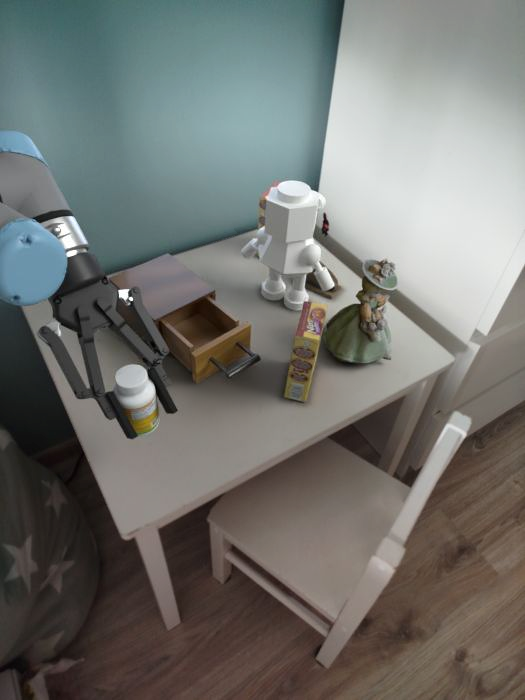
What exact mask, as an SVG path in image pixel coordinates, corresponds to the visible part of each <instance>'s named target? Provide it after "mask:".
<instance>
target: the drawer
mask: <svg viewBox="0 0 525 700" xmlns="http://www.w3.org/2000/svg"><path fill="white" fill-rule="evenodd" d="M159 328H160V334H161V336H162V338H163V339H164V341H165V343H166V345H167V346H168V348H169V353H171V354H172V355H173V356H174V358H176V359H177V360H178V361H179V362H180V363H181V364H182V365H183V366H184V367H185V368H186V369H187V370H188V371H190V372H191V373H192V379H193V381H194V382H195V383H196V384H199V383H201V382H203V381H204V380H205V379H207V378H209V377H210V376H212V375H213V374H215V373H217V372H219V371H220V372H222V373H223V374H224V377H225V379H226V380H228V381H231V380H232V379H234V378H235V377H238V376H239V375H240V374H242V373H243V372H245V371H247V370H248V369H250V368H251V367H253V366H254V365H256V364H257V363H259V362H260V361H261V360H262V358H261V355H260V354H259V353H254V352H253V351H252V350H251V337H252V324H251V323H250V322H249V321H245V322H243V323H241V324H240V319H239V318H237V317H236V316H235V315H234V314H232V313H231V311H229V310H227V309H226V308H225V307H224V306H222V305H221V304H219V303H218V302H217V300H216V301H215V300H213V299H212V298H211V297H210V296H208V297H206V298H204V299H202V300H200V301H198V302H196V303H194V304H192V305H190V306H188V307H186V308H184V309H182V310H180V311H178V312H176V313H174V314H172V315H170V316H168V317H166V318H165V319H163V320H161V321H159ZM246 354H247V355H248V356H249V358H246V359H245V360H243V361H242V362H240V363H239V364H237V365H235V366H234V367H232V368H231V369H229V370H228V369H227V368H226V366H228V365H230V364H232V363H233V362H235V361H236V360H238V359H240V358H242V357H243V356H245V355H246Z"/></svg>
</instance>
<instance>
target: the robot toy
mask: <svg viewBox="0 0 525 700" xmlns="http://www.w3.org/2000/svg"><path fill="white" fill-rule="evenodd" d="M280 182H281V181H280ZM270 187H271V186H270ZM326 205H327V200H326V197H325V196H324V195H323V194H321V192H318V191H316V190H313V189H312V188H311V187H310V185H308V184H307V183H305V182H303V181H300V180H291V179H290V180H285V181H282V182H281V183H280V184H279V185H278V187H271V189H270V192H269V194H268V197H267V199H266V214H265V226H264V227H262V228H260V229H259V231H257V233H256V238H255V237H253V238H252V239H251V240H249V242H248V243H247V244H245V246H243V247H242V249H241V255H242V256H243V257H244V258H245V259H248V260H249V259H250V260H251V258H252V257H253V256H254V255H256V254H257V252H258V251H259V256H258V257H259V258H258V259H259V262H260V263H261V264H263V265H264V266H267V267H268V268H269V273H268V278H267V279H266V280H264V281H262V283H261V295H262V297H263V298H264V299H266V300H269V301H280V300H282V299H283V304H284V306H285V307H286V308H287V309H289V310H291V311H297V312H299V311H300V312H301V311H302V307H303V302H304V301H307V302H310V301H309V300H310V295H309V293H308V292H307V290H306V288H305V281H306V274H308V273H309V272H312V271H313V269H314V268H315V270H316V271H315V272H314V275H315V277H316V279H317V280H318V282H319V284H320V286H321V288H322V290H323V291H327V290H329V289H331V288H332V287H334V285H335V284H334V282H333V280H332V278H331V276H330V274H329V272H328V270H327V268H328V267H327V266H326V267H327V268H326V267H322V266H321V264H320V263H319V261H320V262H321V258H322V249H321V247H320V246H319V245H318V244H316V243H315V240H314V232H315V228H316V222H317V215H318V212H320V211H322V210H323V209H324V208H325V206H326ZM282 276H284V277H289V278H292V285H291V287H290V288H289V289H288V290H286V289H287V285H286V283H285V282H284V281H283V279H282Z"/></svg>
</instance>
